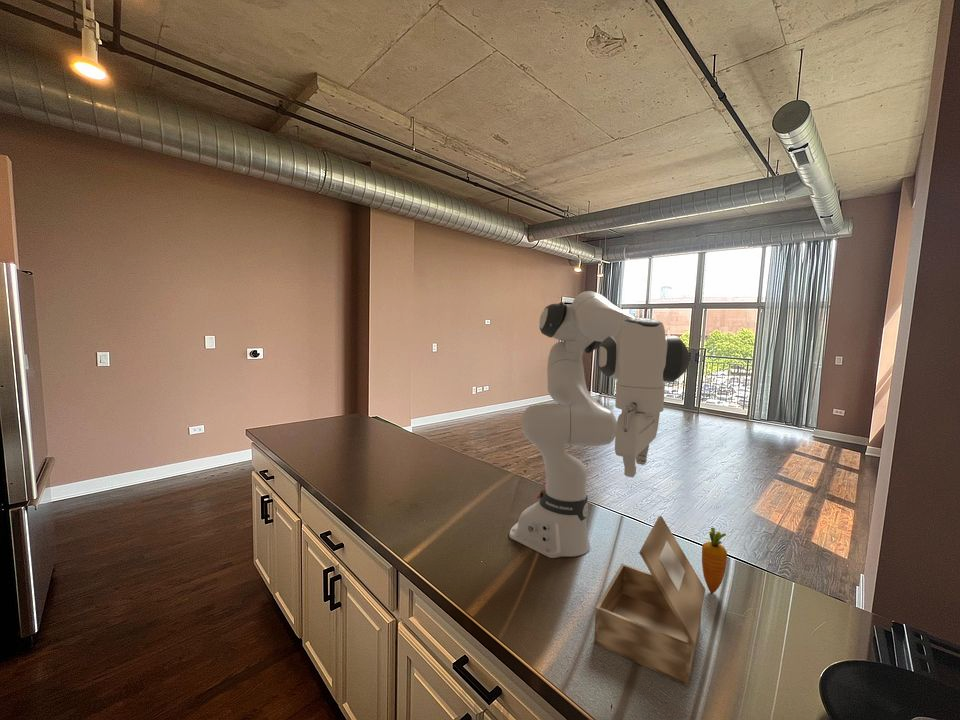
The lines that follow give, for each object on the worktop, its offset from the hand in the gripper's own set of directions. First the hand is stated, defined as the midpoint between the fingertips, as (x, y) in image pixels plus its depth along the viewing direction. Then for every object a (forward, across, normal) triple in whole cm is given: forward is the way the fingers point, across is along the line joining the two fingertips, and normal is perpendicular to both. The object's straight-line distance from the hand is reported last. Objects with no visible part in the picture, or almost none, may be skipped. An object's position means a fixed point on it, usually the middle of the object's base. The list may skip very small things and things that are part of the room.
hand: (635, 469), depth 79 cm
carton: (+32, 0, -4) cm, 32 cm away
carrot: (+32, +22, -13) cm, 41 cm away
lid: (+18, 0, -8) cm, 20 cm away
